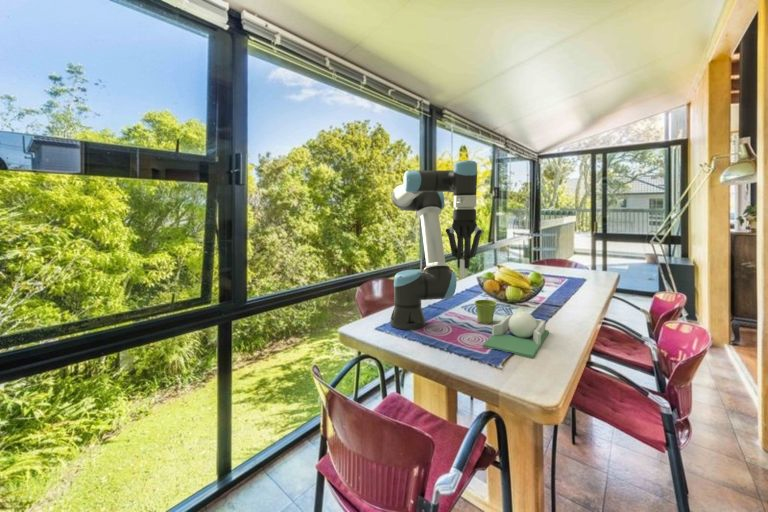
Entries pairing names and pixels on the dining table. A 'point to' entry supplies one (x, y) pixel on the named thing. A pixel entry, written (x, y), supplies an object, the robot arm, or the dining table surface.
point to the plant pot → (485, 310)
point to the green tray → (516, 339)
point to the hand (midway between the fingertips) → (463, 277)
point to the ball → (522, 324)
